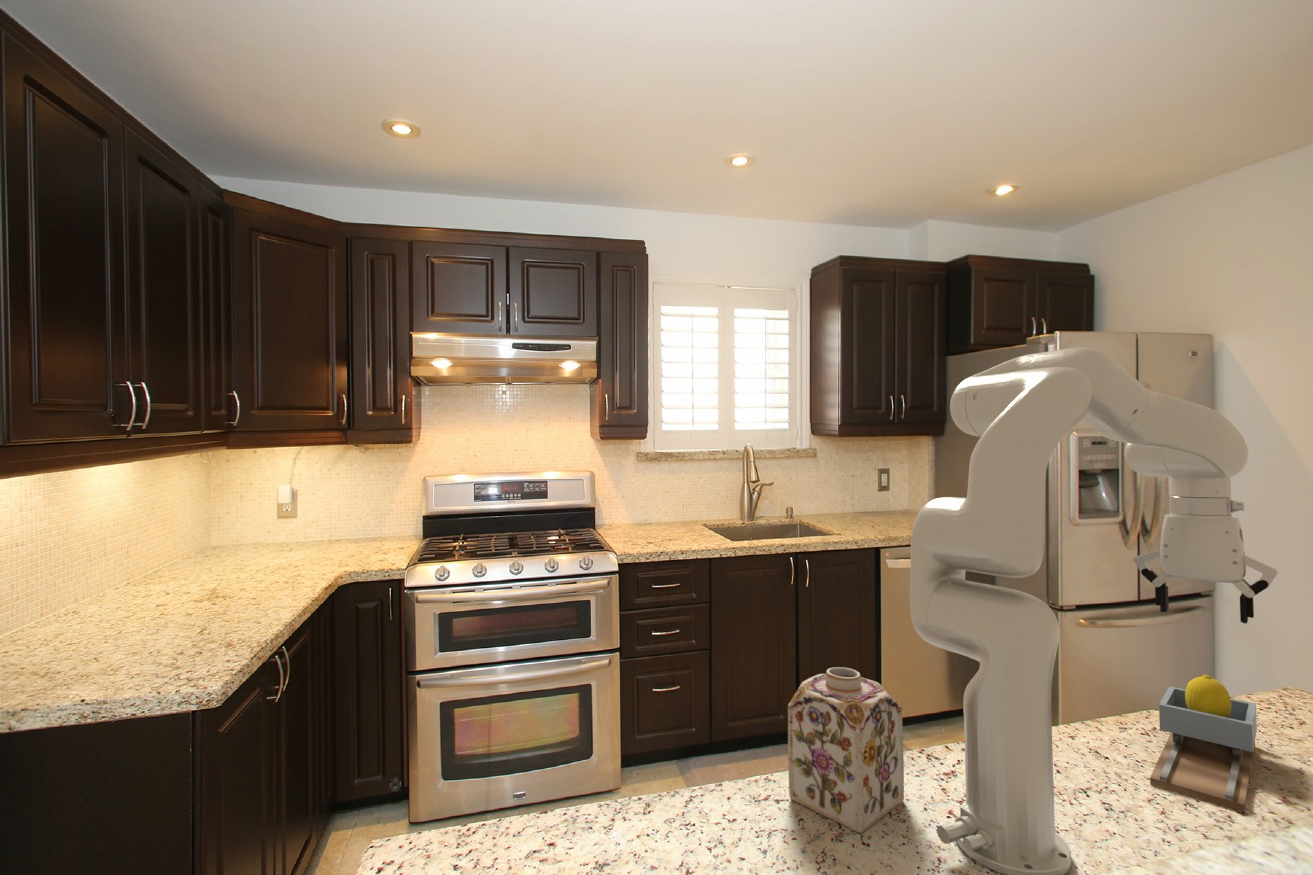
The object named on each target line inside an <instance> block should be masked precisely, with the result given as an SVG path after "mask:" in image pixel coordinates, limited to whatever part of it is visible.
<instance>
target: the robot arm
mask: <svg viewBox="0 0 1313 875" xmlns="http://www.w3.org/2000/svg"><path fill="white" fill-rule="evenodd" d="M949 410H950V416H951V419H952V421H953V422H954V424H955V426H956V427H957V428H958V429H959V430H960V431H962V432H963V433H965V434H968V435H969V436H973V437H980V438H979V439H978V441H977V443H976V444H975V446H974V449H973V450H972V453H971V455H970V460H969V464H968V465H969V466H968V480H967V493H966V494H967V495H966V497H955V496H944V497H938V498H934V499H932V500H930V501H928V502H927V503H925V504H924V505H923V506H922V507H921V509H920V510H919V512H918V513H917V515H916V517H915V520H914V521H913V522H914V523H913V527H912V530H911V537H910V538H911V539H910V571H909V572H910V577H909V579H910V582H909V584H910V585H909V588H910V589H909V603H910V604H909V607H910V608H909V609H910V610H909V611H910V618H911V622H912V625H913V628H914V630H915V632H916V633H917V634H918V636H919V637H920V638H921V639H922V641H924V642H926V643H927V644H930V645H932V646H934V647H936V648H940V649H943V650H945V651H948V652H951V653H954V654H958V655H962V656H965V657H968V658H969V659H973V660H975V661H977V662H978V663H979V668H978V671H977V672H976V673H975V674H974V676H972V678H971V679H970V681H969V682H968V683H967V685H966V686H965V689H964V691H963V692H964V694H963V700H962V702H963V705H962V706H963V727H964V728H963V729H964V730H963V731H964V760H965V761H964V765H965V768H964V769H965V798H966V804H964V805H960V807H959V808H960V810H959V812H960V814H959V815H958V816H957V817H956V818H955V819H954V822H947V823H944V824H940V825H937V828H936V833H937V836H938V838H939V840H940V842H942V844H946V845H947V844H951V843H955V842H956V844H957V845H958V847H959V848H960V849H961V851H963V852H964V853H965V854H967V856H968V857H970V858H971V859H973V860H974V861H976V862H977V863H979V864H980V865H982V866H985V867H986V868H988V869H990V870H993V871H995V872H998V873H1000V874H1004V875H1065V874H1066V873H1068V872H1069V870H1070V868H1071V867H1072V854H1071V850H1070V848H1069V845H1068V844H1067V842H1065V840H1064V839H1063V838H1062V837H1061V836H1060V835H1059V834H1057V832H1056V823H1055V822H1056V819H1055V817H1056V816H1055V793H1054V791H1055V790H1054V789H1055V788H1054V758H1053V757H1054V755H1053V752H1054V751H1053V724H1052V722H1053V721H1052V685H1053V675H1054V668H1055V662H1056V656H1057V650H1058V646H1059V639H1060V626H1059V621H1058V619H1057V616H1056V614H1055V612H1054V611H1053V610H1052V608H1051V607H1050V606H1049V605H1048V604H1047V603H1045V601H1043V600H1041V599H1040V598H1038V597H1037V596H1035V595H1032V594H1029V593H1027V592H1024V591H1022V590H1018V589H1013V588H1010V587H1009V588H1008V587H1003V586H998V585H993V584H988V583H981V582H976V581H971V580H966V572H973V573H979V574H984V575H990V576H996V577H1001V578H1002V577H1004V578H1014V579H1015V578H1016V579H1018V578H1019V579H1020V578H1027V577H1029V576H1033V575H1034V574H1035V573H1036V572H1037V571H1039V569H1040V567H1041V565H1042V563H1043V559H1044V553H1045V552H1044V551H1045V543H1046V541H1045V538H1046V537H1045V534H1046V533H1045V532H1046V526H1045V525H1046V480H1047V479H1046V478H1047V469H1048V465H1049V461H1050V459H1051V456H1052V454H1053V452H1054V450H1056V448H1057V446H1058V445H1059V443H1060V442H1061V441H1062V440H1063V438H1064V437H1066V435H1067V434H1068V433H1069V432H1070V431H1071V430H1072V429H1073V428H1074V427H1076V426H1077V425H1078V424H1079V423H1080V422H1081V421H1082V422H1083V423H1084V424H1086V425H1087V426H1088V427H1089V428H1091V429H1092V430H1094V431H1095V432H1096V434H1098V435H1100V436H1101V437H1103V438H1106V439H1109V440H1112V441H1116V442H1121V443H1124V444H1125V447H1124V458H1125V461H1126V464H1127V465H1128V467H1129V468H1130V469H1131V470H1132V471H1133V472H1135V473H1137V474H1139V475H1141V476H1145V477H1150V478H1151V477H1152V478H1168V497H1169V498H1168V500H1169V501H1168V505H1169V507H1168V508H1169V514H1168V513H1167V514H1164V517H1163V521H1162V528H1161V533H1160V547H1159V549H1155V550H1152V551H1149V552H1146V553H1143V554H1140V555H1137V556H1135V557H1134V558H1133V562H1134V563H1135V565H1136V566H1137V568H1138V570H1139V571H1140V573H1141V575H1142V576H1143V577H1144V578H1145V579H1146V580H1147V581H1149V582H1150V583H1151V584H1152V586H1153V587H1154V592H1155V593H1154V596H1155V599H1154V600H1155V606H1159V609H1160V611H1159V612H1161V613H1166V612H1168V610H1169V608H1170V607H1169V587H1168V586H1167V581H1168V580H1169V579H1170V578H1178V579H1185V580H1187V579H1188V580H1195V581H1196V580H1197V581H1206V582H1216V583H1227V584H1228V583H1229V584H1233V585H1234V587H1236V589H1237V590H1238V591H1239V592H1241V594H1240V596H1239V611H1240V612H1239V615H1240V616H1239V618H1240V623H1242V624H1248V622H1249V618H1252V619H1254V616H1255V611H1254V610H1255V609H1254V597H1256V595H1259V593H1262V592H1263V591H1264V590H1266V589H1268V587H1269V586H1270V585H1271V583H1273V581H1274V580H1275V578H1276V577H1277V575H1278V573H1279V570H1278V569H1277V568H1275V567H1272V566H1270V565H1268V564H1266V563H1264V562H1261V561H1259V560H1257V559H1255V558H1253V557H1250V556H1248V555H1247V554H1246V553H1245V551H1246V550H1245V543H1244V536H1243V530H1242V526H1241V522H1240V520H1239V518H1238V517H1234V516H1233V517H1232V514H1233V513H1235V512H1238V511H1240V512H1244V511H1245V503H1244V502H1241V501H1239V502H1238V500H1237V501H1236V500H1234V499H1232V487H1231V486H1232V485H1231V478H1232V477H1234V476H1236V475H1239V474H1240V473H1241V472H1242V471H1243V470H1244V469H1245V467H1246V465H1247V463H1248V459H1249V450H1248V444H1247V441H1246V440H1245V438H1244V436H1243V435H1242V433H1241V432H1240V430H1239V429H1238V428H1237V427H1236V426H1235V425H1234V424H1233V423H1232V421H1230V420H1229V419H1228V418H1226V416H1225V415H1223V414H1222V413H1221V412H1218V411H1217V410H1215V409H1213V408H1210V407H1208V406H1205V405H1203V404H1199V403H1198V402H1197V403H1196V402H1193V401H1189V400H1186V399H1182V398H1178V397H1176V396H1175V397H1174V396H1172V395H1168V394H1164V393H1160V392H1156V391H1152V390H1149V389H1148V388H1147V387H1146V386H1144V385H1143V384H1142V383H1141V382H1140V381H1139V380H1138V379H1136V378H1135V377H1134V376H1133V375H1132V374H1131V373H1129V372H1128V371H1127V370H1126V369H1125V368H1124V367H1123V366H1122V365H1121V364H1120V363H1118V362H1117V361H1116V360H1114V358H1113V357H1111V356H1110V355H1109V354H1107V353H1106V352H1105V351H1102V350H1100V349H1097V348H1095V347H1089V346H1088V347H1086V346H1084V347H1083V346H1081V347H1080V346H1079V347H1070V348H1063V349H1056V350H1050V351H1042V352H1037V353H1029V354H1024V355H1021V356H1018V357H1015V358H1011V359H1009V360H1007V361H1004V362H1002V363H1000V364H997V365H995V366H993V367H990V368H988V369H985V370H983V371H981V372H978V373H975V374H973V375H972V376H969V377H967V378H965V379H964V380H962V381H961V382H960V383H959V384H958V385H957V386H956V387H955V389H954V391H953V392H952V395H951V398H950V403H949ZM1156 559H1159V566H1160V571H1161V573H1160V574H1159V575H1158V574H1157V573H1156V572H1155V571H1153V570H1152V569H1151V568H1150V567H1149V565H1148V562H1150V561H1154V560H1156ZM1247 567H1248V568H1251V569H1253V570H1255V571H1258V572H1260V573H1261V574H1262V575H1261V577H1260V578H1259V580H1257V581H1254V583H1252V584H1250V582H1248V581H1247V580H1246V579H1245V578H1244V577H1246V573H1247V572H1246V571H1247V569H1246V568H1247Z"/></svg>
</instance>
